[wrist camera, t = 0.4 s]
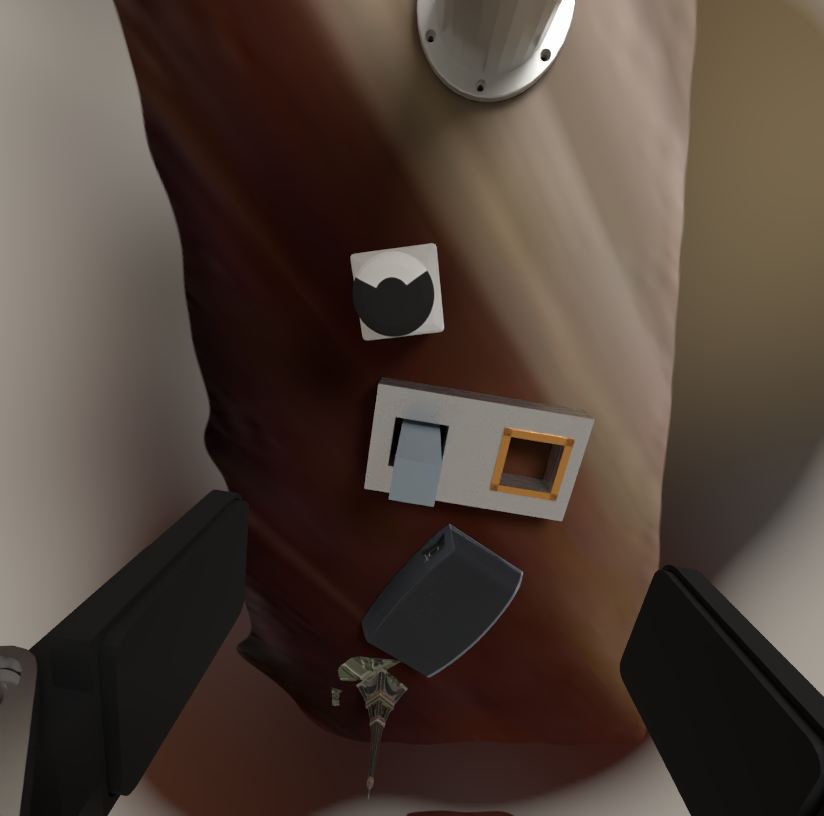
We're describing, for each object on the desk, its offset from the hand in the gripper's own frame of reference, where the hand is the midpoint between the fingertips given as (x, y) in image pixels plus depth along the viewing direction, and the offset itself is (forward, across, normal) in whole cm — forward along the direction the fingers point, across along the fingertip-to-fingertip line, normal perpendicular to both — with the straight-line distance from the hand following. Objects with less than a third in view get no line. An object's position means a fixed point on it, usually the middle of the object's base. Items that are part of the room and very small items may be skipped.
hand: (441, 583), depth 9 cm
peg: (+34, 0, +9) cm, 35 cm away
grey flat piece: (+34, -6, +9) cm, 36 cm away
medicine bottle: (+34, +4, -6) cm, 35 cm away
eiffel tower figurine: (+36, -1, +47) cm, 59 cm away
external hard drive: (+36, -6, +30) cm, 47 cm away
